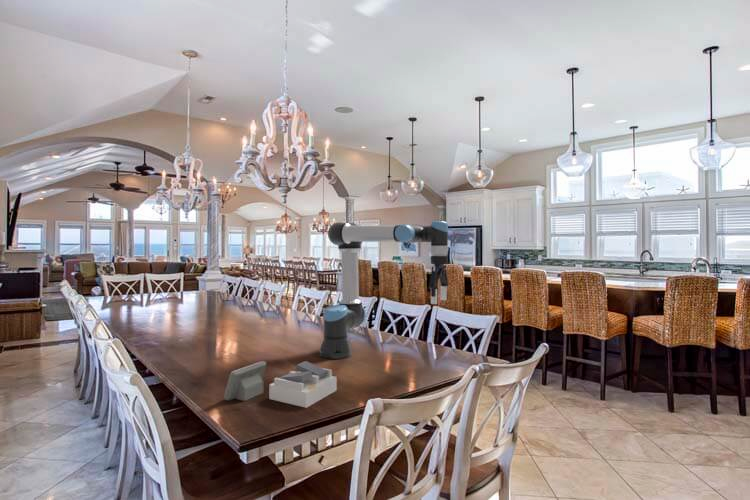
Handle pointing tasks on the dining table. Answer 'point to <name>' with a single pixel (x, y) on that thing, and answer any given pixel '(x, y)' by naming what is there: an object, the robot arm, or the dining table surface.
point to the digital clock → (246, 382)
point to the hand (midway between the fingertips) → (438, 302)
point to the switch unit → (303, 389)
